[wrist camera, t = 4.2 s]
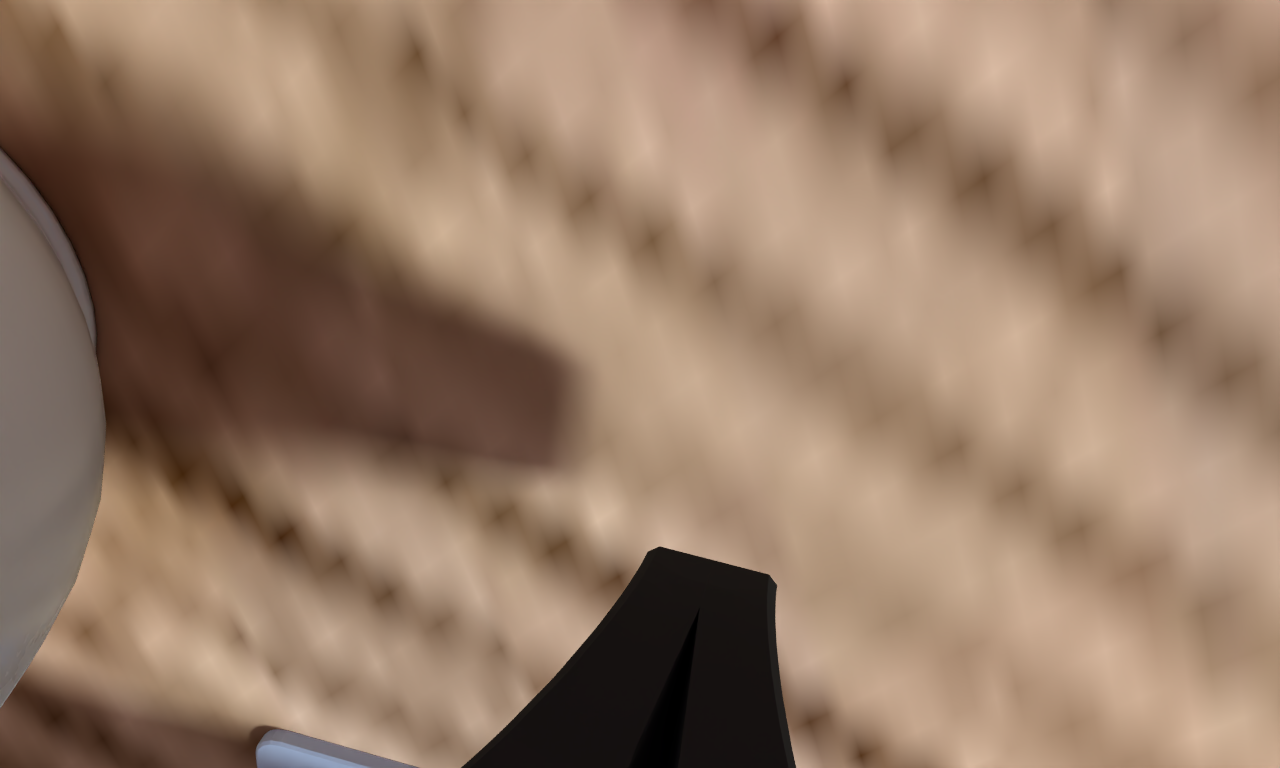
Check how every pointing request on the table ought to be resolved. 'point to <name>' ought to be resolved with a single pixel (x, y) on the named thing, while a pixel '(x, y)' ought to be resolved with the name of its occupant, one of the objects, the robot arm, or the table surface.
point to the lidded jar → (42, 421)
